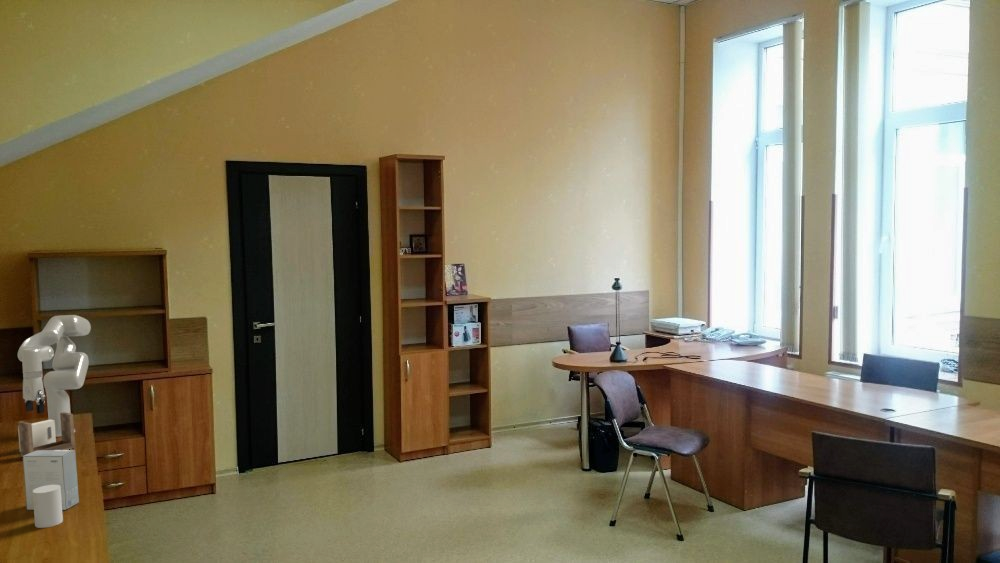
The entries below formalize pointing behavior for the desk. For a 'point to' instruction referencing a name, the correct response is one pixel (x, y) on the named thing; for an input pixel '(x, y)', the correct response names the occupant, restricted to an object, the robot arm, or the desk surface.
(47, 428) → the door panel
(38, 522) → the white cylinder
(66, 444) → the door frame
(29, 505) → the hard drive box
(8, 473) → the desk surface
